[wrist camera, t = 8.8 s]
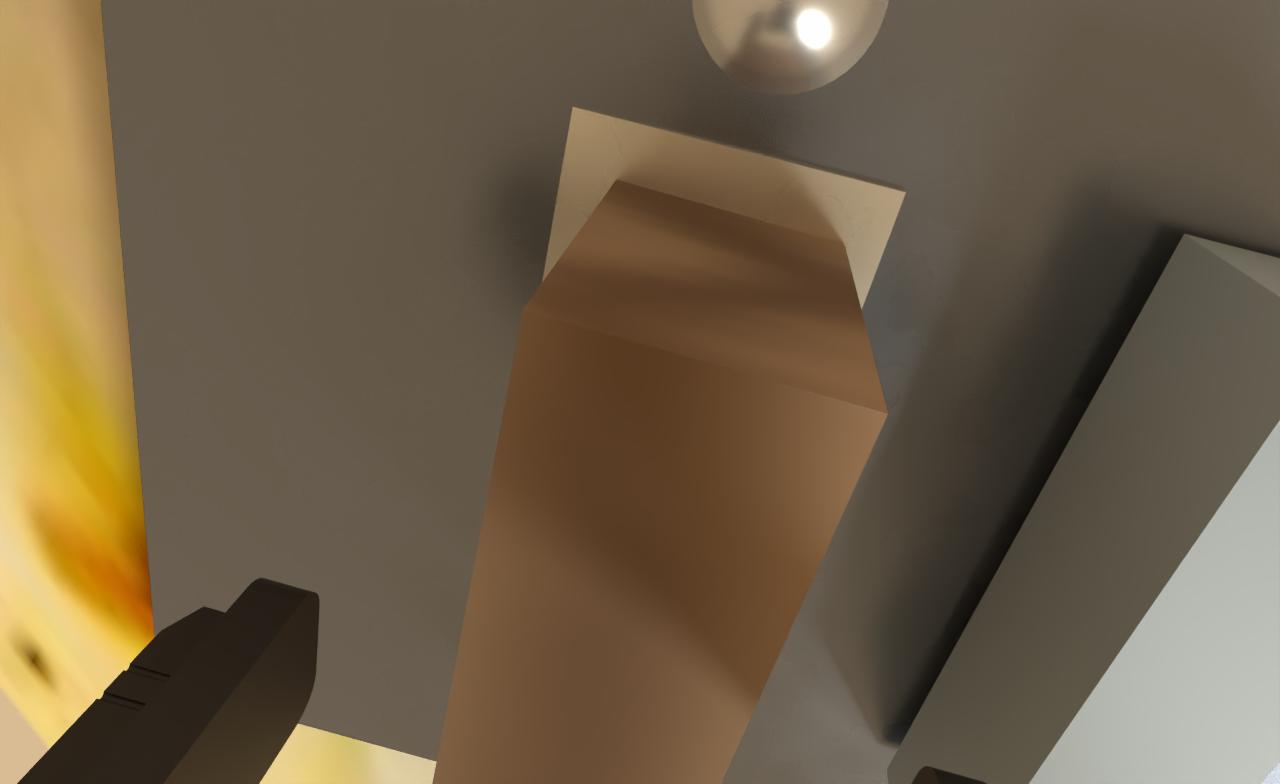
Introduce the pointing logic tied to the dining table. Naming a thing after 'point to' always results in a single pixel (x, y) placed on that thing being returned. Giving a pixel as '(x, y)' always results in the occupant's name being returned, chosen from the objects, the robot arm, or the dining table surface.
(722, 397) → the block
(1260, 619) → the bar
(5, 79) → the dining table surface
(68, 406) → the dining table surface
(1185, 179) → the housing base
